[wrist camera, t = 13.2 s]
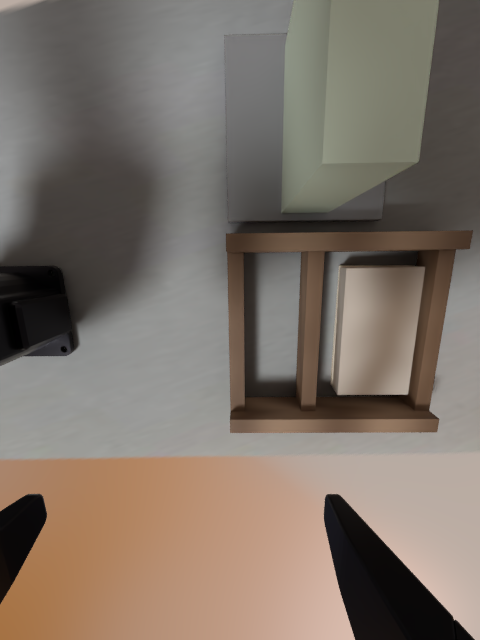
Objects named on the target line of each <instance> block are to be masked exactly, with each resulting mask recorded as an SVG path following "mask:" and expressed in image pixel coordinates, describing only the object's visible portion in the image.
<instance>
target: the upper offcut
mask: <svg viewBox="0 0 480 640" xmlns="http://www.w3.org/2000/svg"><path fill="white" fill-rule="evenodd" d="M424 273H425V267H418V266H404V267H353V268H340V276H339V292H338V307H337V323H336V338H335V354H334V370H333V385H332V387H333V389H334V390H335V392H336V393H337V395H408V390H409V383H410V376H411V368H412V361H413V354H414V346H415V339H416V332H417V324H418V317H419V310H420V302H421V295H422V288H423V280H424Z"/></svg>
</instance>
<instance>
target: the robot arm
mask: <svg viewBox="0 0 480 640" xmlns="http://www.w3.org/2000/svg"><path fill="white" fill-rule="evenodd" d="M52 270H53V271H54V273H55V276H53V275H52ZM71 330H72V326H71V320H70V314H69V307H68V301H67V297H66V294H65V288H64V282H63V275H62V271H61V270H60V268H58V267H57V266H8V267H0V366H1V365H4V364H6V363H8V362H11V361H13V360H15V359H17V358H20V357H22V356H67V355H69V354H71V353H72V352H73V351H74V344H73V338H72V332H71ZM64 346H65V347H66V348H67V351H66V350H65V349H64ZM46 518H47V512H46V508H45V503H44V499H43V496H42V495H41V494H28V495H25V496H24V497H22V498H20V499H19V500H17V501H16V502H14V503H13V504H11V505H9V506H8V507H6V508H5V509H3V510H2V511H0V604H1V602H2V600H3V599H4V597H5V596H6V594H7V592H8V590H9V589H10V587H11V585H12V584H13V582H14V580H15V578H16V576H17V575H18V573H19V571H20V569H21V567H22V565H23V563H24V561H25V560H26V558H27V556H28V554H29V552H30V550H31V548H32V547H33V545H34V543H35V541H36V539H37V537H38V535H39V533H40V531H41V530H42V528H43V526H44V524H45V521H46ZM324 522H325V527H326V532H327V536H328V541H329V545H330V550H331V554H332V559H333V563H334V567H335V571H336V576H337V580H338V585H339V588H340V592H341V595H342V598H343V602H344V605H345V608H346V612H347V615H348V618H349V621H350V624H351V627H352V631H353V634H354V637H355V640H474V639H473V637H472V636H471V635H470V634H469V633H468V632H467V631H466V630H465V629H464V628H463V627H462V626H461V625H460V623H459V622H458V621H456V620H454V619H453V616H452V615H451V614H450V613H449V612H448V611H447V610H446V609H445V608H444V607H443V605H442V604H441V603H440V602H439V601H438V600H437V599H436V598H435V597H434V596H433V595H432V593H431V592H430V591H429V590H428V589H427V588H426V587H425V586H424V585H423V584H422V583H421V582H420V581H419V580H418V578H417V577H416V576H415V575H414V574H413V573H412V572H411V571H410V570H409V569H408V568H407V567H406V566H405V565H404V564H403V562H402V561H401V560H400V559H399V558H398V557H397V556H396V555H395V554H394V553H393V552H392V551H391V549H390V548H389V547H388V546H387V545H386V544H385V543H384V542H383V541H382V540H381V539H380V538H379V537H378V535H376V533H375V532H374V531H373V530H372V529H371V528H370V527H369V526H368V525H367V524H366V523H365V522H364V520H363V519H362V518H361V517H360V516H359V515H358V514H357V513H356V512H355V511H354V510H353V509H352V508H351V506H349V504H348V503H347V502H346V501H345V500H344V499H343V498H342V497H341V496H340V495H338V494H327V495H326V497H325V507H324Z"/></svg>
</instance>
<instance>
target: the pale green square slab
mask: <svg viewBox="0 0 480 640" xmlns="http://www.w3.org/2000/svg"><path fill="white" fill-rule="evenodd" d="M438 6H439V0H294V3H293V8H292V13H291V18H290V23H289V28H288V33H287V39H286V44H285V72H284V116H283V161H282V205H281V213H328V212H330V211H332V210H333V209H335V208H337V207H339V206H341V205H342V204H344V203H346V202H348V201H350V200H351V199H353V198H355V197H357V196H359V195H360V194H362V193H364V192H366V191H368V190H369V189H371V188H373V187H375V186H377V185H378V184H380V183H382V182H384V181H386V180H387V179H389V178H391V177H393V176H395V175H396V174H398V173H400V172H402V171H404V170H405V169H407V168H409V167H411V166H413V165H414V164H416V163H418V162H419V156H420V148H421V140H422V132H423V124H424V116H425V109H426V101H427V93H428V85H429V77H430V69H431V61H432V53H433V46H434V38H435V30H436V22H437V14H438Z"/></svg>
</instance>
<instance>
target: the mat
mask: <svg viewBox="0 0 480 640" xmlns="http://www.w3.org/2000/svg"><path fill="white" fill-rule="evenodd" d="M286 39H287V34H249V35H224V47H225V97H226V147H227V197H228V222H302V221H377V220H381V219H382V213H383V204H384V194H385V184H386V181H384V182H382V183H380V184H378V185H377V186H375V187H373V188H371V189H369V190H368V191H366V192H364V193H362V194H360V195H359V196H357V197H355V198H353V199H351V200H350V201H348V202H346V203H344V204H342V205H341V206H339V207H337V208H335V209H333V210H332V211H330V212H328V213H281V205H282V161H283V116H284V72H285V44H286Z"/></svg>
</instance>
